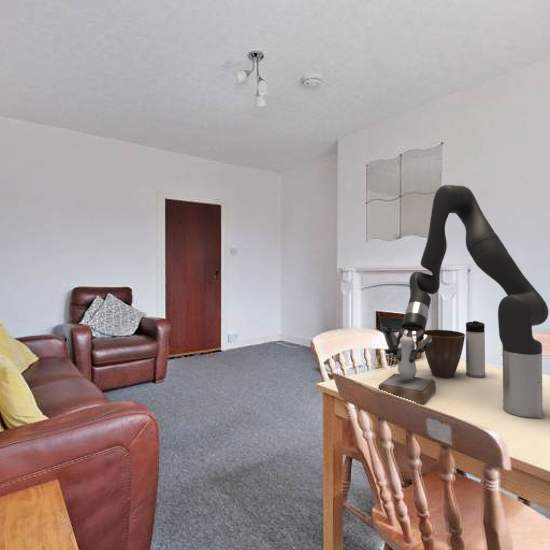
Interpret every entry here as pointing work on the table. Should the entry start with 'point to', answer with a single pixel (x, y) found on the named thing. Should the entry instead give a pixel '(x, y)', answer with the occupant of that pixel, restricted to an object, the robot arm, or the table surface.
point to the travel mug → (475, 349)
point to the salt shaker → (406, 359)
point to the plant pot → (444, 352)
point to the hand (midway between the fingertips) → (405, 360)
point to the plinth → (409, 388)
